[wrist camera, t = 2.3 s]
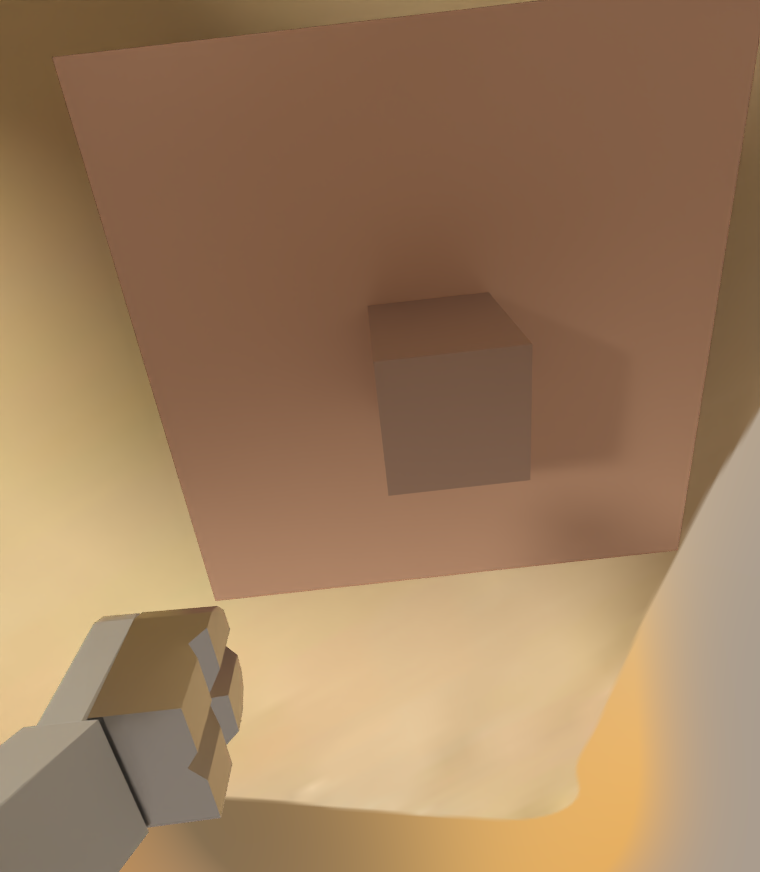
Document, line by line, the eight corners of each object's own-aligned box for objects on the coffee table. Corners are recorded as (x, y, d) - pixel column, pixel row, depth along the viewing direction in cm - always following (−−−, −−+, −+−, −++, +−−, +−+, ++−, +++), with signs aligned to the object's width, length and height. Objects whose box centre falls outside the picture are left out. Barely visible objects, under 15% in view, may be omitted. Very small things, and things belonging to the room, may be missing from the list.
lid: (72, 61, 13) (-71, 28, 9) (741, -16, 13) (944, -90, 9) (221, 579, 20) (184, 710, 15) (663, 531, 20) (754, 648, 15)
